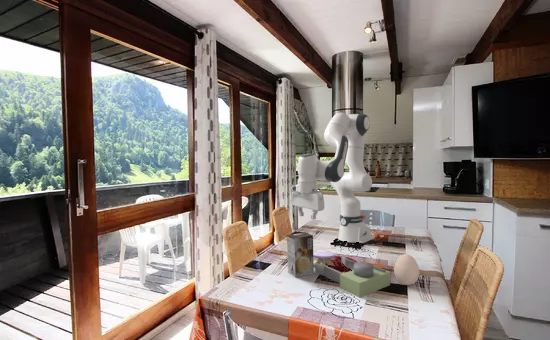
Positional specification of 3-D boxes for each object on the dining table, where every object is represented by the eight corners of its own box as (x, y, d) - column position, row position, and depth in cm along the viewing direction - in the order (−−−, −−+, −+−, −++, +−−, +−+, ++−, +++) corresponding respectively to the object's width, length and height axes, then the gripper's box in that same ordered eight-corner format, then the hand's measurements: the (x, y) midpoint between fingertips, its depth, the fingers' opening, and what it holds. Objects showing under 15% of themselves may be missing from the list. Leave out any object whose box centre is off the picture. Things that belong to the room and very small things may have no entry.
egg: (390, 279, 113) (390, 250, 113) (412, 279, 113) (413, 250, 113) (399, 289, 105) (399, 258, 104) (423, 289, 104) (423, 258, 104)
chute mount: (343, 264, 130) (343, 255, 129) (371, 276, 116) (371, 266, 116) (314, 273, 120) (314, 263, 120) (342, 286, 107) (342, 276, 107)
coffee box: (305, 268, 126) (305, 231, 125) (314, 273, 120) (313, 235, 119) (287, 272, 121) (286, 234, 121) (295, 278, 116) (294, 238, 115)
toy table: (335, 263, 131) (335, 251, 131) (335, 271, 122) (335, 258, 122) (313, 262, 133) (313, 249, 133) (311, 269, 124) (311, 256, 124)
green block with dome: (370, 276, 116) (370, 257, 116) (390, 285, 108) (390, 264, 108) (340, 287, 107) (339, 266, 106) (359, 297, 99) (359, 274, 99)
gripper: (327, 189, 129) (327, 220, 129) (299, 186, 146) (299, 213, 146) (317, 190, 125) (316, 222, 126) (289, 186, 142) (289, 214, 143)
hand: (307, 217), depth 136 cm, fingers open, 7 cm apart
